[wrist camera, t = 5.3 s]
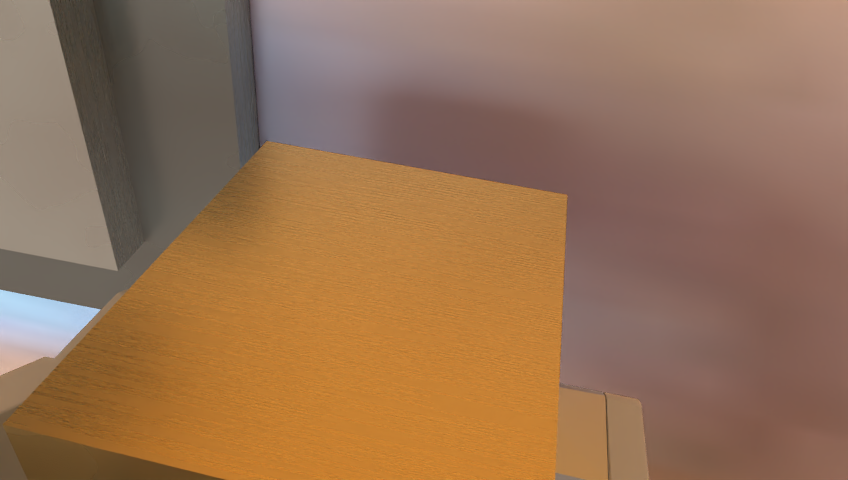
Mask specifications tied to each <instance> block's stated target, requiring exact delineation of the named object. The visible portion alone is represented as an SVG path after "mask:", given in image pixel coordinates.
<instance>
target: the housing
mask: <svg viewBox="0 0 848 480" xmlns="http://www.w3.org/2000/svg"><path fill="white" fill-rule="evenodd" d="M566 217H567V195H566V194H560V193H555V192H549V191H543V190H538V189H532V188H527V187H521V186H516V185H510V184H504V183H499V182H493V181H488V180H482V179H476V178H471V177H465V176H460V175H454V174H449V173H443V172H437V171H432V170H426V169H421V168H415V167H410V166H404V165H398V164H393V163H387V162H382V161H376V160H371V159H365V158H359V157H354V156H348V155H343V154H337V153H331V152H326V151H320V150H315V149H309V148H304V147H298V146H292V145H287V144H281V143H276V142H270V141H266V143H265V144H264V145H263V146H262V147H261V148H260V149H259V150H258V151H257V152H256V153H255V154H254V155H253V156H252V158H251V159H250V160H249V161H248V162H247V163H246V164H245V165H244V166H243V167H242V168H241V169H240V170H239V171H238V173H237V174H236V175H235V176H234V177H233V178H232V179H231V180H230V181H229V182H228V183H227V184H226V185H225V186H224V188H223V189H222V190H221V191H220V192H219V193H218V194H217V195H216V196H215V197H214V198H213V199H212V200H211V201H210V203H209V204H208V205H207V206H206V207H205V208H204V209H203V210H202V211H201V212H200V213H199V214H198V215H197V216H196V218H195V219H194V220H193V221H192V222H191V223H190V224H189V225H188V226H187V227H186V228H185V229H184V230H183V231H182V233H181V234H180V235H179V236H178V237H177V238H176V239H175V240H174V241H173V242H172V243H171V244H170V245H169V247H168V248H167V249H166V250H165V251H164V252H163V253H162V254H161V255H160V256H159V257H158V258H157V259H156V260H155V262H154V263H153V264H152V265H151V266H150V267H149V268H148V269H147V270H146V271H145V272H144V273H143V274H142V275H141V277H140V278H139V279H138V280H137V281H136V282H135V283H134V284H133V285H132V286H131V287H130V288H129V289H128V290H127V292H126V293H125V294H124V295H123V296H122V297H121V298H120V299H119V300H118V301H117V302H116V303H115V304H114V305H113V307H112V308H111V309H110V310H109V311H108V312H107V313H106V314H105V315H104V316H103V317H102V318H101V319H100V320H99V322H98V323H97V324H96V325H95V326H94V327H93V328H92V329H91V330H90V331H89V332H88V333H87V334H86V335H85V337H84V338H83V339H82V340H81V341H80V342H79V343H78V344H77V345H76V346H75V347H74V348H73V349H72V350H71V352H70V353H69V354H68V355H67V356H66V357H65V358H64V359H63V360H62V361H61V362H60V363H59V364H58V366H57V367H56V368H55V369H54V370H53V371H52V372H51V373H50V374H49V375H48V376H47V377H46V378H45V379H44V381H43V382H42V383H41V384H40V385H39V386H38V387H37V388H36V389H35V390H34V391H33V392H32V393H31V394H30V396H29V397H28V398H27V399H26V400H25V401H24V402H23V403H22V404H21V405H20V406H19V407H18V408H17V409H16V411H15V412H14V413H13V414H12V415H11V416H10V417H9V418H8V419H7V420H6V421H5V422H4V423H3V424H2V425H3V427H4V429H5V431H6V434H7V436H8V438H9V440H10V442H11V445H12V447H13V449H14V451H15V453H16V455H17V458H18V460H19V462H20V464H21V466H22V469H23V471H24V473H25V475H26V477H27V479H28V480H555V469H556V446H557V423H558V400H559V377H560V354H561V332H562V309H563V286H564V263H565V240H566Z"/></svg>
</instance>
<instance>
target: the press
mask: <svg viewBox="0 0 848 480" xmlns="http://www.w3.org/2000/svg"><path fill="white" fill-rule="evenodd" d="M258 150H259V136H258V122H257V108H256V94H255V81H254V67H253V53H252V39H251V25H250V11H249V0H0V289H1V290H6V291H11V292H16V293H21V294H26V295H31V296H36V297H41V298H46V299H51V300H56V301H61V302H66V303H71V304H76V305H82V306H87V307H92V308H97V309H102V308H103V307H104V306H105V305H106V304H107V303H108V302H109V301H110V300H111V299H112V298H113V297H114V296H115V295H116V294H117V293H119V292H122V291H124V290H126V289H129V288H130V287H131V286H132V285H133V284H134V283H135V282H136V281H137V280H138V279H139V278H140V277H141V275H142V274H143V273H144V272H145V271H146V270H147V269H148V268H149V267H150V266H151V265H152V264H153V263H154V262H155V260H156V259H157V258H158V257H159V256H160V255H161V254H162V253H163V252H164V251H165V250H166V249H167V248H168V247H169V245H170V244H171V243H172V242H173V241H174V240H175V239H176V238H177V237H178V236H179V235H180V234H181V233H182V231H183V230H184V229H185V228H186V227H187V226H188V225H189V224H190V223H191V222H192V221H193V220H194V219H195V218H196V216H197V215H198V214H199V213H200V212H201V211H202V210H203V209H204V208H205V207H206V206H207V205H208V204H209V203H210V201H211V200H212V199H213V198H214V197H215V196H216V195H217V194H218V193H219V192H220V191H221V190H222V189H223V188H224V186H225V185H226V184H227V183H228V182H229V181H230V180H231V179H232V178H233V177H234V176H235V175H236V174H237V173H238V171H239V170H240V169H241V168H242V167H243V166H244V165H245V164H246V163H247V162H248V161H249V160H250V159H251V158H252V156H253V155H254V154H255V153H256V152H257V151H258Z"/></svg>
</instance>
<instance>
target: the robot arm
mask: <svg viewBox="0 0 848 480" xmlns="http://www.w3.org/2000/svg"><path fill="white" fill-rule="evenodd" d="M127 290H128V289H126V290H124V291H122V292H119V293H117V294H116V295H115V296H114V297H113V298H112V299H111V300H110V301H109V302H108V303H107V304H106V305H105V306H104V307H103V308H102V309H101V310H100V311H99V312H98V313H97V315H96V316H95V317H94V318H93V319H92V320H91V321H90V322H89V323H88V324H87V325H86V326H85V327H84V328H83V329H82V330H81V331H80V332H79V333H78V334H77V335H76V336H75V337H74V338H73V339H72V341H71V342H70V343H69V344H68V345H67V346H66V347H65V348H64V349H63V350H62V351H61V352H60V353H59V354H58V355H57V356H56V357H55V358H49V357H43V358H41V359H39V360H36V361H34V362H32V363H29V364H27V365H24V366H22V367H20V368H17V369H15V370H13V371H10V372H8V373H5V374H3V375H1V376H0V480H28V479H27V477H26V475H25V473H24V471H23V469H22V466H21V464H20V462H19V460H18V458H17V455H16V453H15V451H14V449H13V447H12V445H11V442H10V440H9V438H8V436H7V434H6V431H5V429H4V427H3V425H2V424H3V423H4V422H5V421H6V420H7V419H8V418H9V417H10V416H11V415H12V414H13V413H14V412H15V411H16V409H17V408H18V407H19V406H20V405H21V404H22V403H23V402H24V401H25V400H26V399H27V398H28V397H29V396H30V394H31V393H32V392H33V391H34V390H35V389H36V388H37V387H38V386H39V385H40V384H41V383H42V382H43V381H44V379H45V378H46V377H47V376H48V375H49V374H50V373H51V372H52V371H53V370H54V369H55V368H56V367H57V366H58V364H59V363H60V362H61V361H62V360H63V359H64V358H65V357H66V356H67V355H68V354H69V353H70V352H71V350H72V349H73V348H74V347H75V346H76V345H77V344H78V343H79V342H80V341H81V340H82V339H83V338H84V337H85V335H86V334H87V333H88V332H89V331H90V330H91V329H92V328H93V327H94V326H95V325H96V324H97V323H98V322H99V320H100V319H101V318H102V317H103V316H104V315H105V314H106V313H107V312H108V311H109V310H110V309H111V308H112V307H113V305H114V304H115V303H116V302H117V301H118V300H119V299H120V298H121V297H122V296H123V295H124V294H125V293H126V292H127ZM555 480H649V472H648V462H647V452H646V442H645V432H644V422H643V412H642V405H641V403H640V401H639V399H636V398H631V397H626V396H621V395H616V394H611V393H606V392H604V393H602V391H597V390H592V389H587V388H582V387H577V386H572V385H567V384H562V383H559V400H558V423H557V446H556V469H555Z"/></svg>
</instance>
